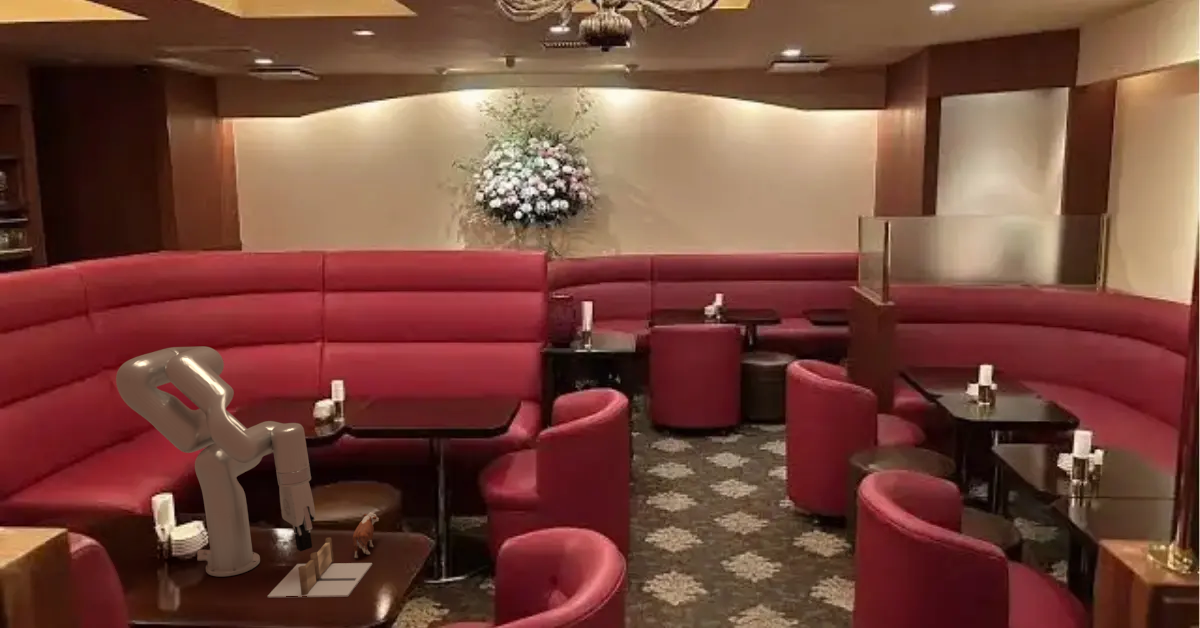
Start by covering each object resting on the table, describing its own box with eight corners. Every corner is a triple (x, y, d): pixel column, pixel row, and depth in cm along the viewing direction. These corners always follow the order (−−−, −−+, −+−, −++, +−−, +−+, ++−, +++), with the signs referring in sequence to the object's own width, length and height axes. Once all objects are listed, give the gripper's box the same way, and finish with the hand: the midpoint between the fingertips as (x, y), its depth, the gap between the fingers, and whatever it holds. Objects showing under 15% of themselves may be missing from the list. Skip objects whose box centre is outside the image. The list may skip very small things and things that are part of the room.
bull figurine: (383, 538, 248) (380, 509, 246) (366, 560, 234) (362, 529, 233) (367, 539, 248) (364, 509, 247) (348, 561, 235) (345, 529, 233)
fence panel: (318, 579, 223) (315, 554, 222) (311, 579, 223) (309, 555, 222) (335, 560, 234) (332, 536, 233) (328, 560, 234) (326, 536, 233)
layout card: (267, 597, 217) (267, 595, 217) (297, 565, 234) (297, 563, 234) (348, 596, 215) (347, 594, 215) (372, 564, 232) (372, 562, 232)
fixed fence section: (300, 595, 216) (297, 568, 215) (311, 582, 223) (308, 556, 222) (306, 595, 216) (303, 568, 215) (317, 582, 223) (314, 556, 221)
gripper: (266, 473, 228) (277, 546, 231) (290, 486, 217) (302, 562, 220) (296, 465, 233) (307, 536, 236) (321, 477, 221) (332, 551, 224)
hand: (304, 548), depth 228 cm, fingers closed
